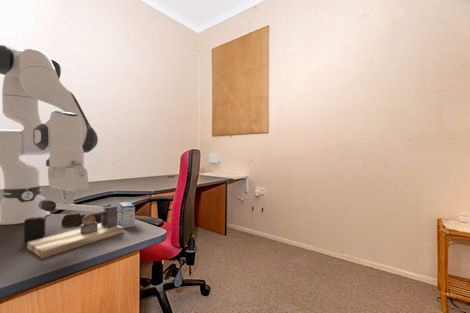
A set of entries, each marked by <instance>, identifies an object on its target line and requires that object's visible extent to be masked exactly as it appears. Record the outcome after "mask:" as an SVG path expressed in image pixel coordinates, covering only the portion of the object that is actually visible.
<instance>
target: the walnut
mask: <svg viewBox="0 0 470 313" xmlns="http://www.w3.org/2000/svg"><path fill="white" fill-rule="evenodd" d="M87 214H88V215H86V216H84V217H83V219H82V223H81V224H84V225H92V224H94V223H95V222H97V221H96V218H95V216H94V215H92V214H93V213H87Z"/></svg>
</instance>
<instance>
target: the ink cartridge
mask: <svg viewBox="0 0 470 313" xmlns="http://www.w3.org/2000/svg"><path fill="white" fill-rule="evenodd" d="M23 224H24V225H23V226H24V230H23V232H24V238H23V240H24V241H23V242H24V244H25V245H27V242H29V241H33V240H37V239H40V238H44V237H46V216H45V217H35V218H33V217H32V218H28V219H26V220H24V223H23Z"/></svg>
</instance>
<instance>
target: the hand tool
mask: <svg viewBox="0 0 470 313" xmlns="http://www.w3.org/2000/svg"><path fill="white" fill-rule="evenodd" d="M88 214H89V213H85V214H81V213H80V212H79V213H67V214H65V215H64V216H63V218H62V219H61V226H66V227H67V226H77V224H78V225H81V224H83V223H82V219H83V217H84V216H86V215H88ZM91 214H92V215H94V216H95V218H96V221H95V222H98V221H99V222H100V221H101V212H95V213H91Z"/></svg>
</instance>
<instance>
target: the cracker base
mask: <svg viewBox="0 0 470 313" xmlns="http://www.w3.org/2000/svg"><path fill="white" fill-rule="evenodd" d="M100 207H107V212H101V220H100V222H99V223H98V221H95V223H94V224H92V225H84V224H83V223H80V224H79V226H80V227H79V228H76V229H71V230H68V231H64V232H61V233H57V234H54V235H52V234H51V235H48V236H45V237H44V238H40V239H37V240H33V241H29V242H27V244H26V245H27V250H29V251H30V252H32V253H33V254H35V255H36V256H39V257H40V258H41V259H44V258H48V257H51V256H54V255H57V254H61V253H63V252H65V251H66V252H67V251H69V250H72V249H76V248H79V247H83V246H85V245H89V244H92V243H95V242H98V241H101V240H103V239H108V238H110V237H113V236H117V235H119V234H123V233H124V228H123V227H122V226H121V225H120V224H119V225H118V205H111V204H109V203H107V204H102V205H100Z"/></svg>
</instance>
